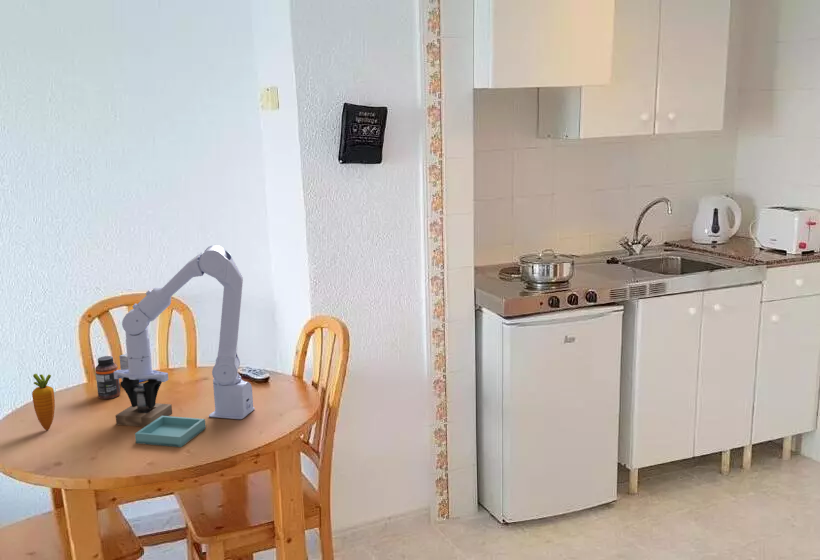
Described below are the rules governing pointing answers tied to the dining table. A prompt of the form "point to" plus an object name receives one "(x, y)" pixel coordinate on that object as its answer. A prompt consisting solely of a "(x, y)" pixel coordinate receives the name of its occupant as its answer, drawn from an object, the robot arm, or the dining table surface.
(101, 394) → the supplement bottle
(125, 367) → the medicine box
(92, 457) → the dining table surface
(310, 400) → the dining table surface
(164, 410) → the brown wooden square frame
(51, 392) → the carrot
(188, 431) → the tray
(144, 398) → the steel pin
